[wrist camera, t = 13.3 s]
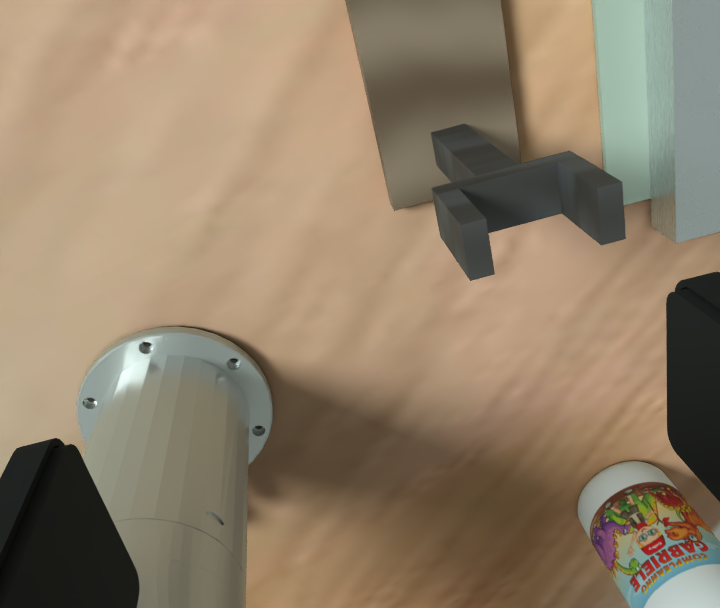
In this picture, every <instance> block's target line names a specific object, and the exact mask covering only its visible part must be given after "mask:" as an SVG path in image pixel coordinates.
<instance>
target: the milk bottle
mask: <svg viewBox="0 0 720 608" xmlns="http://www.w3.org/2000/svg"><path fill="white" fill-rule="evenodd" d="M578 517H579V520H580V522H581V524H582V526H583V528H584V530H585V532H586V533H587V535H588V537H589V539H590V540H591V542H592V544H593V545H594V547H595V549H596V551H597V552H598V554H599V556H600V557H601V559H602V561H603V563H604V564H605V566H606V568H607V569H608V571H609V573H610V575H611V576H612V578H613V580H614V581H615V583H616V585H617V587H618V588H619V590H620V592H621V593H622V595H623V597H624V598H625V600H626V602H627V603H628V605H629V607H630V608H720V542H719V541H718V539H717V538H716V537H715V535H714V534H713V533H712V532H711V530H710V529H709V528H708V527H707V525H706V524H705V523H704V522H703V520H702V519H701V518H700V517H699V515H698V514H697V513H696V512H695V510H694V509H693V508H692V507H691V505H690V504H689V503H688V502H687V500H686V499H685V498H684V497H683V496H682V494H681V493H680V492H679V491H678V489H677V488H676V487H675V486H674V484H673V483H672V482H671V481H670V480H669V479H668V477H667V476H666V475H665V474H664V473H663V472H662V471H661V470H660V469H659V468H657V467H655V466H653V465H651V464H648V463H645V462H640V461H627V462H622V463H617V464H615V465H612V466H610V467H607V468H606V469H604V470H602V471H600V472H599V473H598V474H596V475H595V476H594V477H593V478H592V479H591V480H590V481H589V482H588V483H587V484H586V486H585V487H584V489H583V490H582V492H581V494H580V497H579V501H578Z"/></svg>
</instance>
